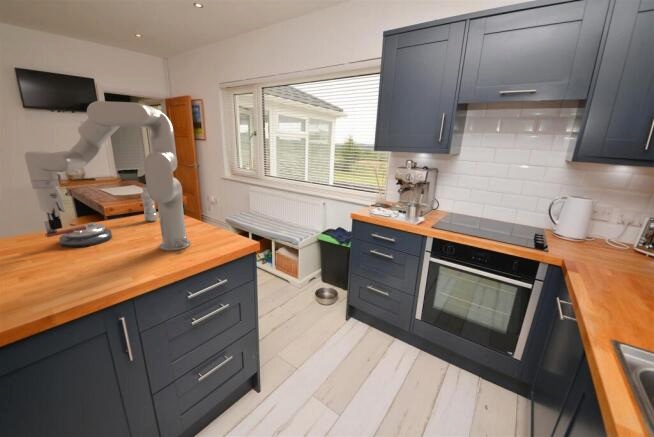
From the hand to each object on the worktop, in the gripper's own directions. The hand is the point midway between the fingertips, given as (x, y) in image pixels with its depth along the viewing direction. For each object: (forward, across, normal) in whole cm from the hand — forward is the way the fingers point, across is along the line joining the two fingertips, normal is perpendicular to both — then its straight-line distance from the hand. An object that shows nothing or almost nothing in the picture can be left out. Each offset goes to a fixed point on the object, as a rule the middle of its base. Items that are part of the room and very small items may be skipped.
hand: (56, 228), depth 110 cm
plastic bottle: (+10, +14, -44) cm, 47 cm away
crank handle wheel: (+7, +7, -8) cm, 13 cm away
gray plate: (+10, +7, -11) cm, 17 cm away
